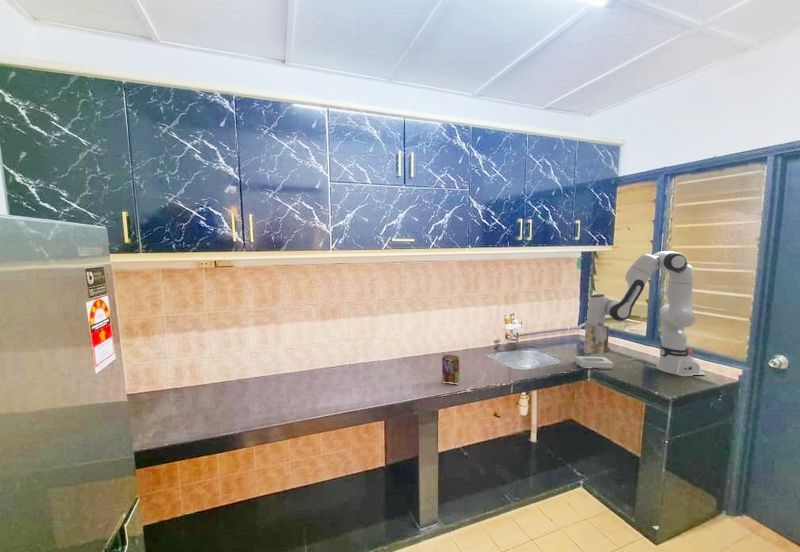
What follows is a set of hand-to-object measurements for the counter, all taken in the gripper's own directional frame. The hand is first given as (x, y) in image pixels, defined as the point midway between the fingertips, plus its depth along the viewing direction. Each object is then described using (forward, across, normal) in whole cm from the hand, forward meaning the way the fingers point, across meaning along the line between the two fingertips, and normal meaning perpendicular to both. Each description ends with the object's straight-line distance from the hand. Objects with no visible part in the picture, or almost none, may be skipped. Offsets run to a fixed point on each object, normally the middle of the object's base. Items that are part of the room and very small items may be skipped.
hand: (594, 342), depth 204 cm
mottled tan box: (+6, 0, 0) cm, 6 cm away
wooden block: (+15, +27, -17) cm, 35 cm away
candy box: (+15, -33, +89) cm, 96 cm away
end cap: (+15, 0, 0) cm, 15 cm away
